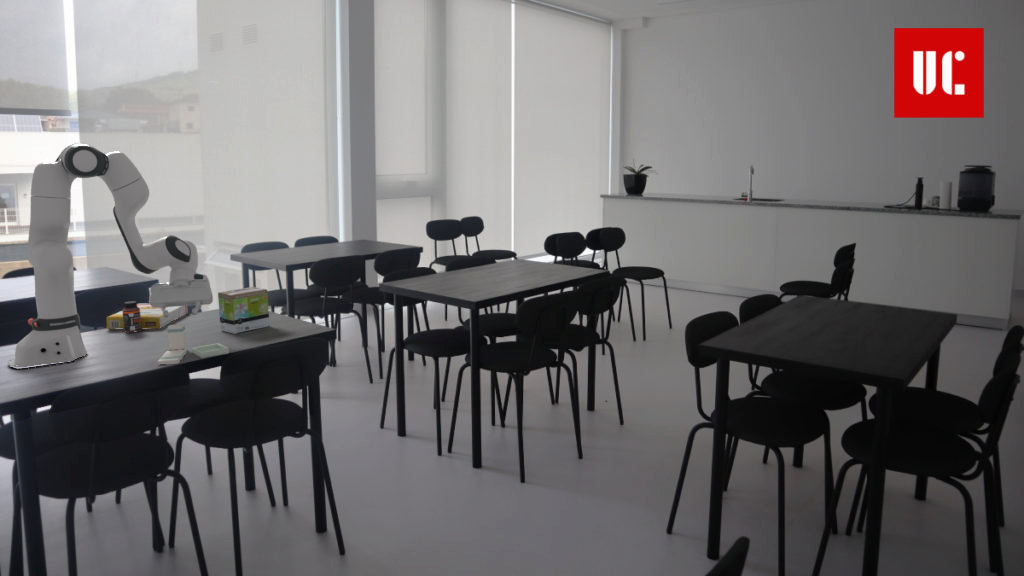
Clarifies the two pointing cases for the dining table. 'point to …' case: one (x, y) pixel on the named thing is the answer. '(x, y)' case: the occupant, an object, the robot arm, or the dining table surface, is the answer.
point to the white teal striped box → (177, 337)
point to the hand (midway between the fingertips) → (180, 315)
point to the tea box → (243, 309)
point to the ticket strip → (172, 357)
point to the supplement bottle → (131, 317)
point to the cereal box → (148, 316)
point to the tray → (210, 350)
